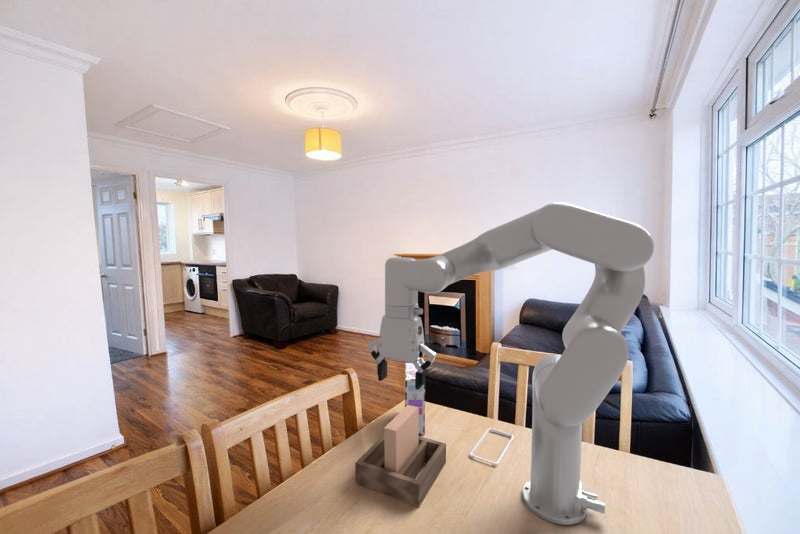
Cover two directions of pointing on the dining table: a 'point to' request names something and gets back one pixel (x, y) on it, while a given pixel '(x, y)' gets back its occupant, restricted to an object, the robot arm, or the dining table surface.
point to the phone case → (482, 440)
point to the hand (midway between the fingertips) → (400, 382)
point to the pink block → (401, 438)
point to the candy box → (415, 395)
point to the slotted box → (402, 471)
